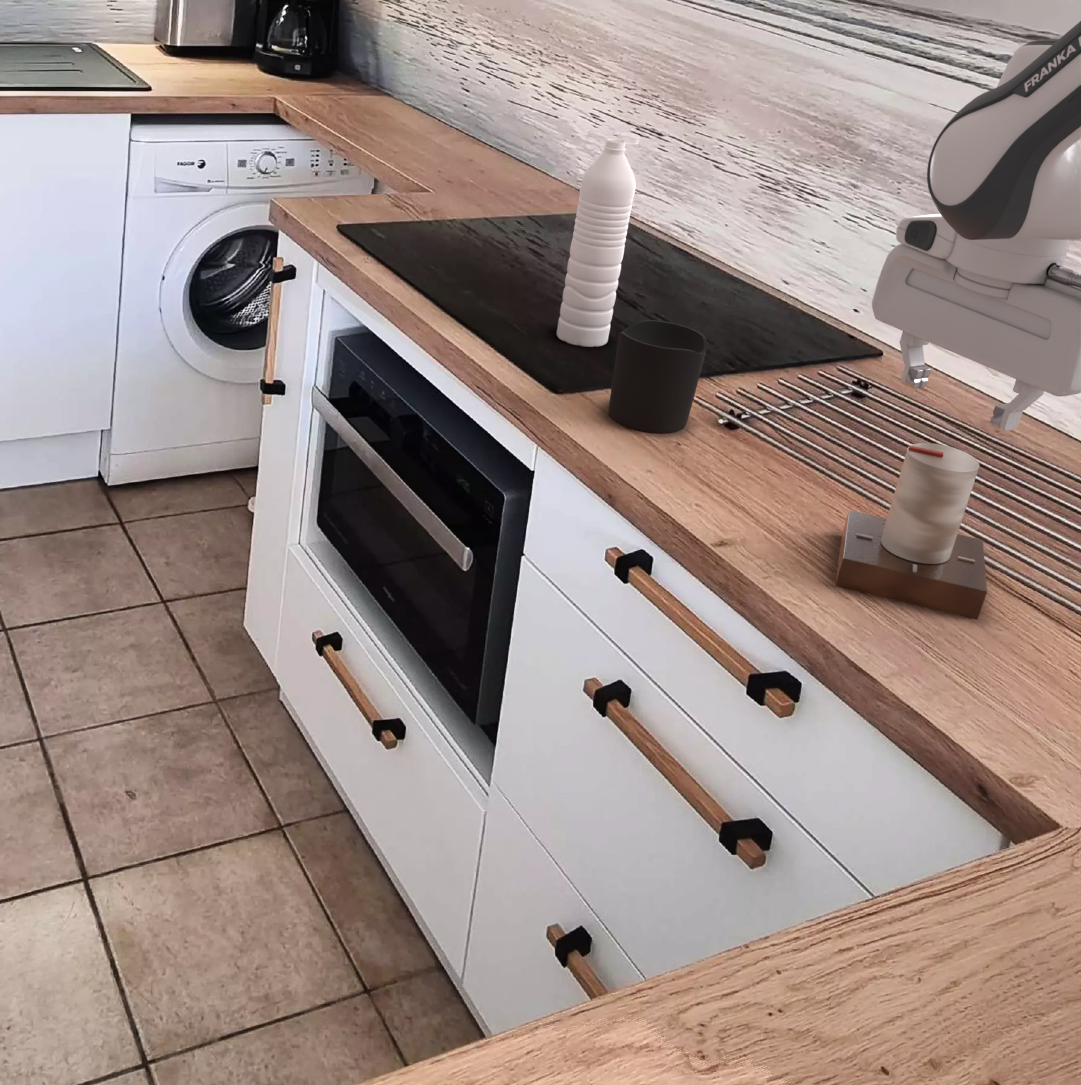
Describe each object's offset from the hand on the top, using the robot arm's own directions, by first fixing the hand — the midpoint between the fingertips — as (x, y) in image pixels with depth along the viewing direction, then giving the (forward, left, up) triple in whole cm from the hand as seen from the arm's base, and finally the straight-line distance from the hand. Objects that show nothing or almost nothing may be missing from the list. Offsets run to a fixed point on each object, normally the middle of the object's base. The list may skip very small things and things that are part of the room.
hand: (956, 405), depth 121 cm
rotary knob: (0, 0, -14) cm, 14 cm away
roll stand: (0, 0, -17) cm, 17 cm away
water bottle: (+40, -49, -17) cm, 65 cm away
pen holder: (+28, -25, -17) cm, 41 cm away
